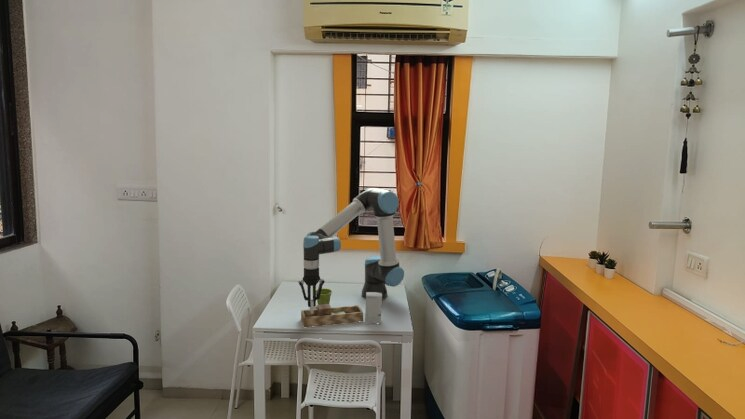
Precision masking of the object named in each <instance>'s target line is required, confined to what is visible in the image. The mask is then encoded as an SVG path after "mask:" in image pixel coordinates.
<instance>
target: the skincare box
mask: <svg viewBox="0 0 745 419" xmlns="http://www.w3.org/2000/svg"><path fill="white" fill-rule="evenodd" d="M382 303H383V299H382V293H376V292H366V298H365V311H364V312H365V313H364V324H365V323H379V324H378V325H381V323H382V321H381V320H382V306H383V304H382Z"/></svg>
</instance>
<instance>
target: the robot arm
mask: <svg viewBox="0 0 745 419" xmlns="http://www.w3.org/2000/svg"><path fill="white" fill-rule="evenodd" d="M399 203H400V202H399V197H398V196H397V194H396V193H395V192H394V191H392V190H391V191H390V190H388V189H383V188H382V189H380V188H378V187H377V188H376V187H372V188H368V189H365V190H364V191H362V192H360V194H358V195H357V196H355V197H354V198H353V199H352V202H350V203H349V204H348V205H347V206H346V207H344V208H343V209H342V210H341V211H339V213H337V214H336V215H334V216H333V217H331V219H329V221H327V222H325V224H324V225H322V226H321V227H320V228H318V229H317V230H316V231H310V232H308V233H307V235H306V236H305V237H304V238H303V244H302V245H303V277H302V279H301V280H299V281H298V285H299V286H300V288H301V292H302V296H303V299H304V301H307V307H308V308H309V310H310V313H311V314H314V309H315V307H316V306H317V299H319V298H320V294H321V290H322V289H323V285H324V284H325V282H326V280H324V279H322V278H321V277H320V268H319V267H320V255H323V254H325V255H326V254H331V253H336V252H339V251H340V250H341V248H342V243H341V239H340V238H339V237H338V236H335V235H336V234H337V233H338V232H340V231H341V230H342V229H343V228H345V227H346V226H347V225H348V224H349V223H350V222H352V221H353V220H354V219H355V218H356V217H358V216H359V215H361V214H362V213H363V214H364V213H366V212H367V211H369V210H373V216H374V217H375V218H376V222H377V231H378V232H377V233H378V244H379V246H378V247H379V254H380V255H379V256H378V255H377V256H370V257H366V259H365V261H364V284H363V286H362V289H361V297H363V298H364V299H366V292H376V293H382V300H383V299H385V298H387V297H388V288H387V287H386V286H388V287H393V288H394V287H398V286H399V285H400V284H401V283H402V281H403V280H404V277H405V270H404V269H403V267H401V266H400V261H399V259H398V258H397V254H396V253H397V252H396V242H395V241H396V240H395V229H394V216H395V215H396V211H397V210H398V208H399ZM318 283H319V284H318ZM304 284H306V286H307V293H306V290H305V286H304ZM317 285H318V288H317ZM311 287H312V288H311ZM311 289H312V291H311ZM316 290H318V292H317V296H316ZM311 292H312V293H311ZM311 294H312V295H311ZM311 297H312V299H311Z"/></svg>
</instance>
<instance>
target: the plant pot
mask: <svg viewBox="0 0 745 419" xmlns="http://www.w3.org/2000/svg"><path fill="white" fill-rule="evenodd" d="M317 292H318V289H316V296H317ZM332 293H333V290H332V289H330V288H322V290H321V294H320V298H319V299H317V300H316V304H317V305H322V304H329V305H330V303H331V302H330V301H331V296H332Z"/></svg>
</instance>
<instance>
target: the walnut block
mask: <svg viewBox="0 0 745 419" xmlns="http://www.w3.org/2000/svg"><path fill="white" fill-rule="evenodd" d="M316 306H317V308H316V309H317V314H318V316H323V315H331V308H332V307H331V305H330V303H329V304H322V305H318V304H316Z"/></svg>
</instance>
